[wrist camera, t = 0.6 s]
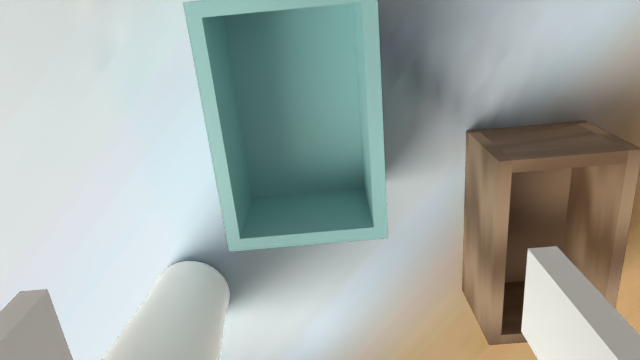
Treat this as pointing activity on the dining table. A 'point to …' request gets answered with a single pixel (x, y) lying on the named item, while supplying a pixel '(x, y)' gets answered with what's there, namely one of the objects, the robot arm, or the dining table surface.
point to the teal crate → (292, 118)
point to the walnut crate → (542, 213)
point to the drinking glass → (177, 317)
